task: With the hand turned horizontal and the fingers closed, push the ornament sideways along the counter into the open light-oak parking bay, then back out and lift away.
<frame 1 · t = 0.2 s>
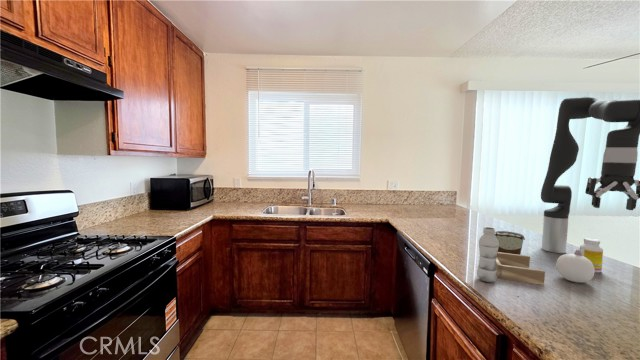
hand: (612, 208, 89), 29 cm above the countertop, tool pointing down, fingers open, 8 cm apart
ornament: (573, 281, 98), on the countertop
plastic bottle: (486, 281, 98), on the countertop
bay: (515, 272, 105), on the countertop
food container: (507, 252, 129), on the countertop
supplement bottle: (589, 270, 108), on the countertop
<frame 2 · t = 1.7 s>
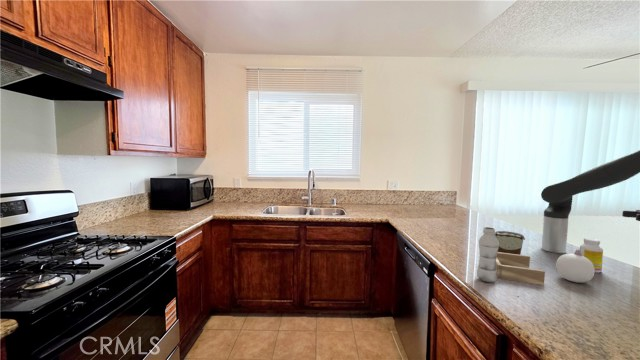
hand: (629, 215, 91), 26 cm above the countertop, tool horizontal, fingers open, 6 cm apart
nothing on the countertop moved.
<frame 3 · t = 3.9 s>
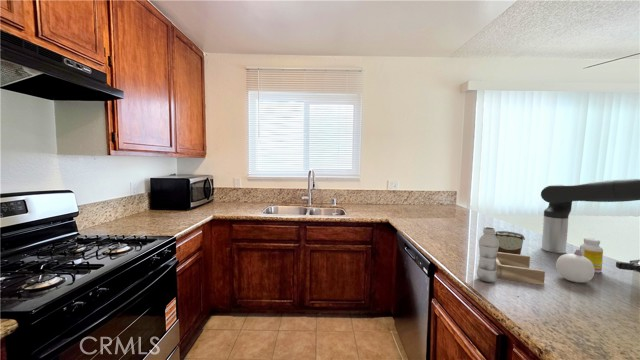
hand: (617, 265, 93), 8 cm above the countertop, tool horizontal, fingers closed
nothing on the countertop moved.
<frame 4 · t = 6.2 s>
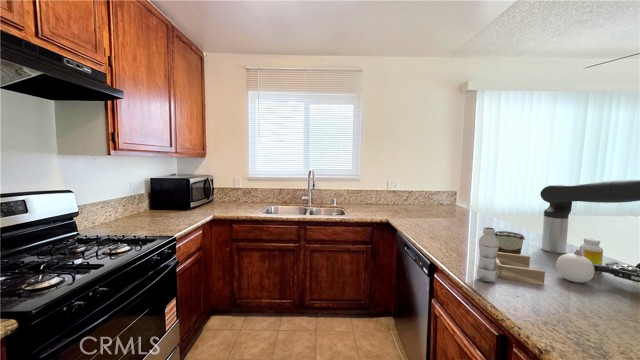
hand: (593, 267, 96), 6 cm above the countertop, tool horizontal, fingers closed
ornament: (573, 281, 98), on the countertop, touching gripper
everything else where it was.
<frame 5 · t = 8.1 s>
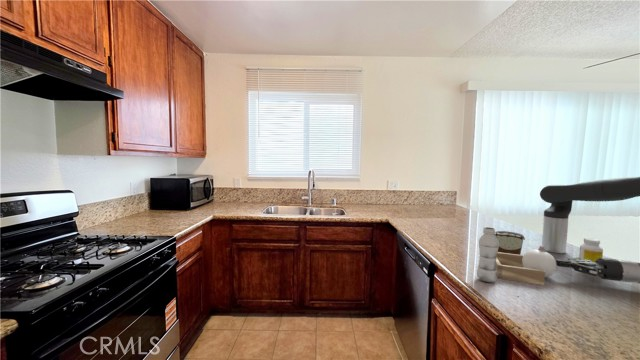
hand: (556, 262, 100), 6 cm above the countertop, tool horizontal, fingers closed
ornament: (538, 276, 102), on the countertop, touching gripper
everything else where it was.
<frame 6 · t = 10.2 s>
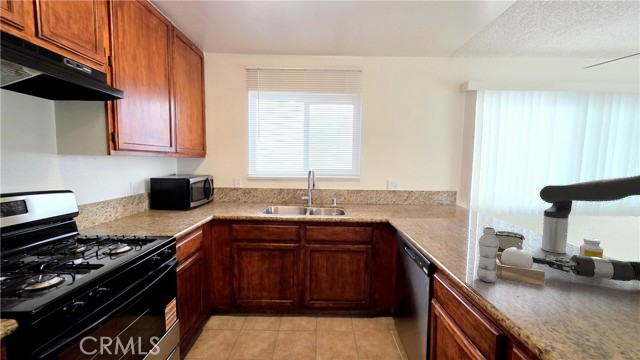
hand: (532, 259, 103), 6 cm above the countertop, tool horizontal, fingers closed
ornament: (515, 273, 105), on the countertop, touching gripper
everything else where it was.
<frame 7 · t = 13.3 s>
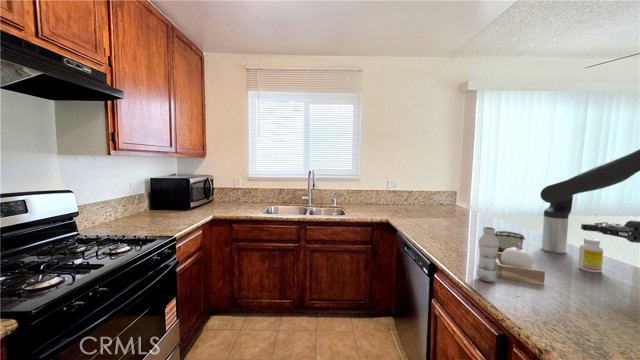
hand: (582, 226, 96), 21 cm above the countertop, tool horizontal, fingers closed
ornament: (515, 273, 105), on the countertop
everything else where it was.
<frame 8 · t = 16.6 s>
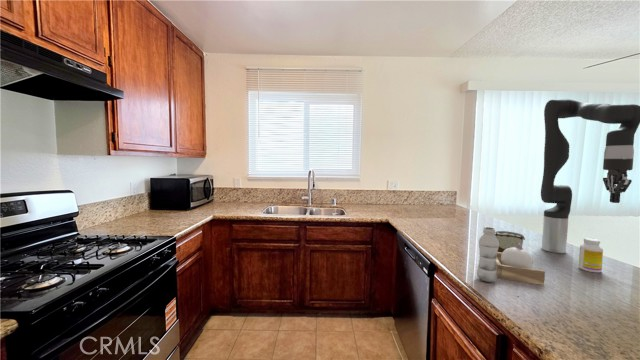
hand: (614, 202, 101), 29 cm above the countertop, tool pointing down, fingers closed
nothing on the countertop moved.
at the end: ornament inside the target area on the bay (0.4 cm from its centre), point 0.0 cm above the bay's base; ornament tilted 0° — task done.
